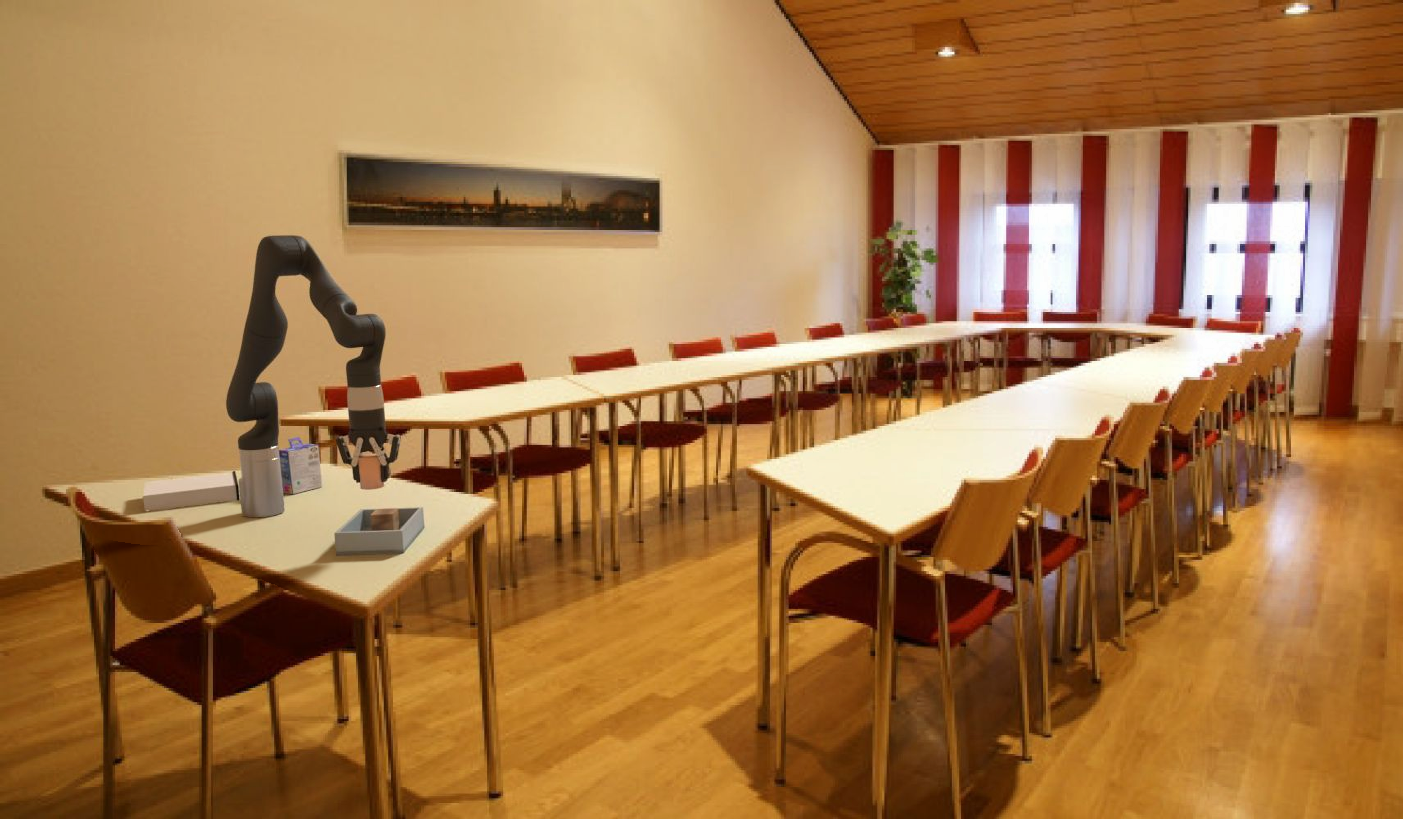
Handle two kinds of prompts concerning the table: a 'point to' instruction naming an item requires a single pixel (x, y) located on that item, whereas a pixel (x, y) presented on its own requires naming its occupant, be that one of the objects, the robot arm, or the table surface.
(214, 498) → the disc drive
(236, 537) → the table surface
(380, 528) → the cube
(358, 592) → the table surface
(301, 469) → the ink cartridge box
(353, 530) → the tote
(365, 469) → the orange round part
